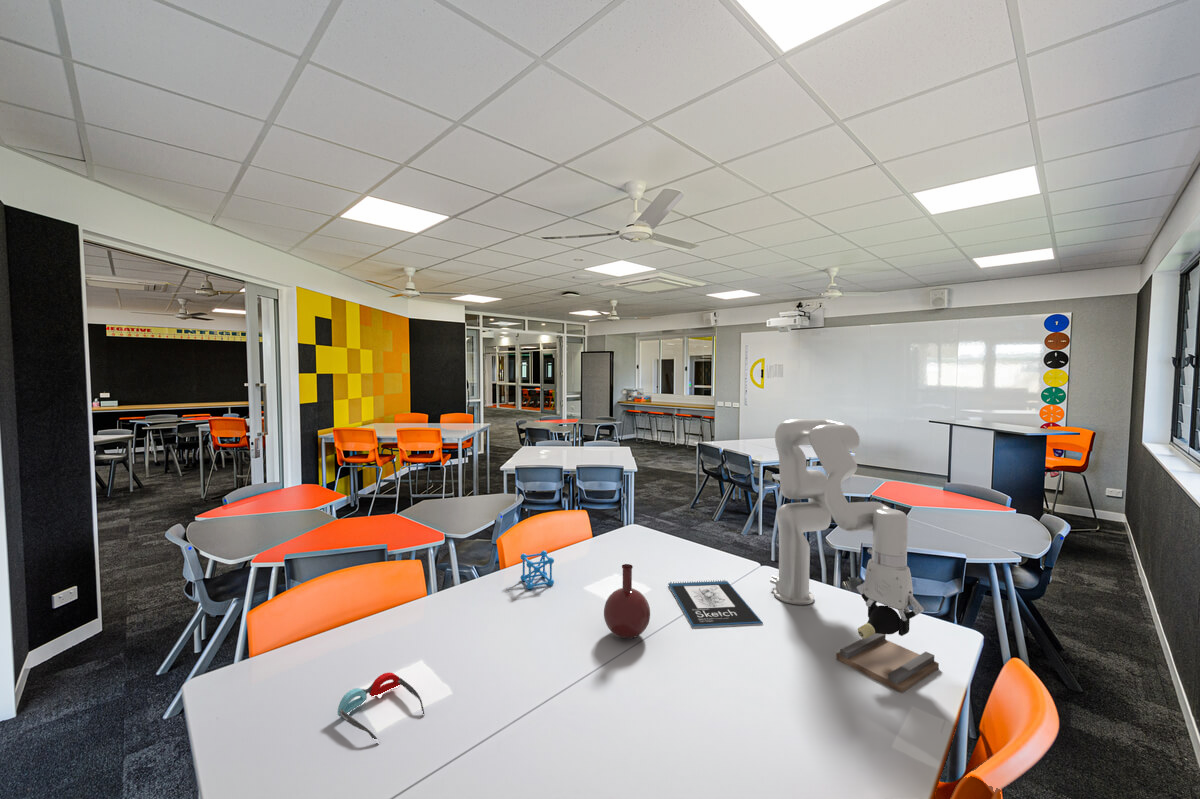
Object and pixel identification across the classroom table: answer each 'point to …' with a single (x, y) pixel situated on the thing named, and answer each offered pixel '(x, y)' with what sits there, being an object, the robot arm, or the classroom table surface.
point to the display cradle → (888, 662)
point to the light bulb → (880, 622)
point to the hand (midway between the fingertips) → (887, 627)
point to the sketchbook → (713, 604)
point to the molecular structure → (537, 569)
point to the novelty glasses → (372, 690)
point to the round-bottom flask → (627, 609)
